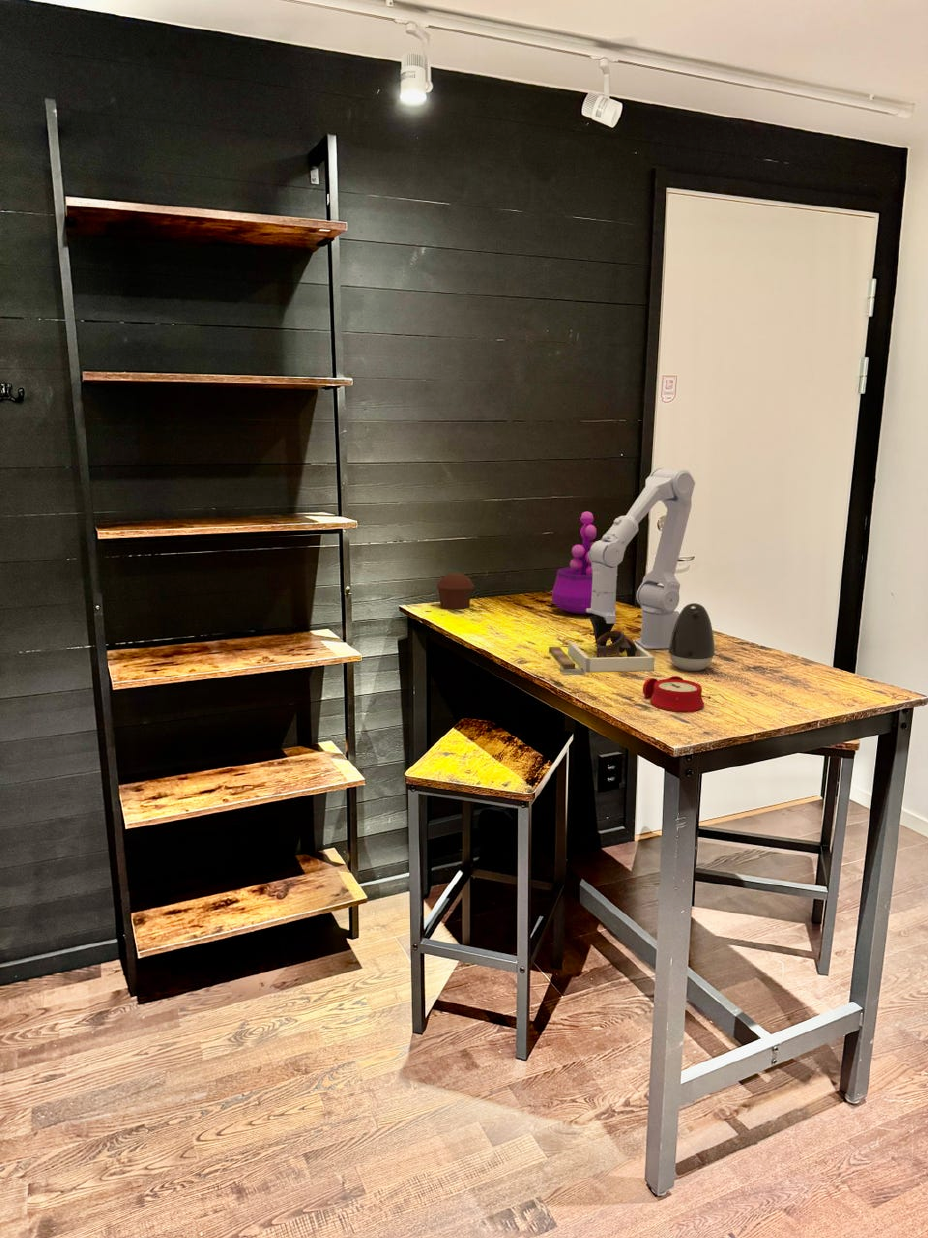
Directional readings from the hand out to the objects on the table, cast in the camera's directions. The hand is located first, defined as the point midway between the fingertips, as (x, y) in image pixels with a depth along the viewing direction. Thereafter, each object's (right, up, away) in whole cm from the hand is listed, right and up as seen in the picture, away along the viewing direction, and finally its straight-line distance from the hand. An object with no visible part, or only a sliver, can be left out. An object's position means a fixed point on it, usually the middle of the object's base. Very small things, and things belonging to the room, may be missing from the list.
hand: (601, 646), depth 207 cm
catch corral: (+1, -3, -7) cm, 7 cm away
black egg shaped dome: (+19, -5, -11) cm, 22 cm away
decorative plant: (+2, +8, +47) cm, 48 cm away
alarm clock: (+9, -10, -35) cm, 37 cm away
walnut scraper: (-10, -4, -7) cm, 13 cm away
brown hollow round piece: (+3, -3, -5) cm, 7 cm away
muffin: (-36, +10, +53) cm, 65 cm away
